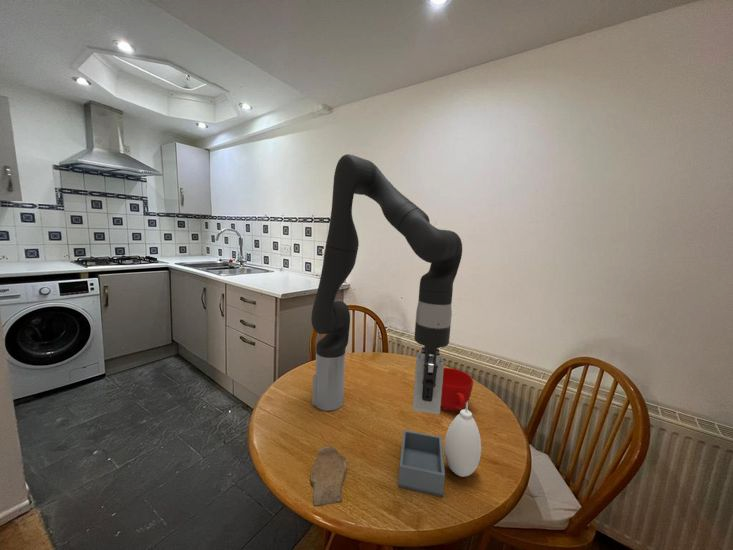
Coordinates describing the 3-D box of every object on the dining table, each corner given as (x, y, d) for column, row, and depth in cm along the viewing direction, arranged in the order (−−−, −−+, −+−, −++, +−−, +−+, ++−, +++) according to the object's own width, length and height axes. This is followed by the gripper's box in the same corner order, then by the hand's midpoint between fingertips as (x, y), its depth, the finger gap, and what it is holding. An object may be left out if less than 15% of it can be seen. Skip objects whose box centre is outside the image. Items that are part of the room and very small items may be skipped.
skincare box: (438, 404, 66) (443, 355, 64) (439, 415, 62) (444, 363, 60) (412, 400, 67) (416, 352, 65) (411, 410, 63) (416, 360, 61)
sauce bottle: (484, 477, 65) (493, 405, 63) (462, 492, 61) (471, 416, 58) (457, 455, 71) (464, 388, 69) (435, 467, 67) (442, 397, 65)
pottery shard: (307, 458, 70) (312, 509, 56) (308, 448, 70) (312, 497, 55) (341, 453, 72) (353, 502, 58) (341, 443, 72) (353, 490, 58)
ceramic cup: (438, 425, 83) (441, 393, 81) (425, 393, 99) (427, 366, 98) (482, 426, 83) (485, 395, 82) (461, 394, 100) (464, 368, 98)
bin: (398, 486, 61) (399, 466, 61) (402, 447, 73) (403, 429, 72) (442, 496, 59) (444, 475, 59) (439, 454, 71) (441, 436, 70)
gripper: (454, 333, 54) (446, 416, 56) (448, 314, 68) (441, 381, 70) (414, 329, 55) (408, 410, 58) (416, 311, 69) (411, 377, 71)
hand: (426, 393), depth 64 cm, fingers closed on skincare box, 4 cm apart
